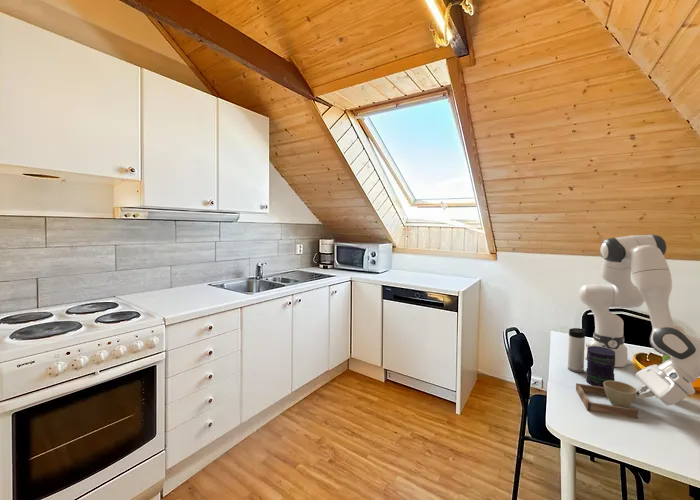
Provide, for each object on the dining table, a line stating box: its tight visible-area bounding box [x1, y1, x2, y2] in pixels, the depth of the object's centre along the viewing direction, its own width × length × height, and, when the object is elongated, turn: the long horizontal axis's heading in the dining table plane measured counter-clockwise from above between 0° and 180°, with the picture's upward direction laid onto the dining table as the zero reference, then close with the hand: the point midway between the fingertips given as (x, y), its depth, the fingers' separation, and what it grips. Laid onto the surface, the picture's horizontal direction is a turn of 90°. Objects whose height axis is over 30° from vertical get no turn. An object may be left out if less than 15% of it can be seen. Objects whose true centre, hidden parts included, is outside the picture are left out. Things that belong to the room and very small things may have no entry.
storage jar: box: [585, 345, 616, 387], centre depth 141 cm, size 10×10×18 cm
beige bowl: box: [603, 380, 638, 408], centre depth 126 cm, size 10×10×7 cm
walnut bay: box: [575, 382, 639, 420], centre depth 127 cm, size 16×15×3 cm
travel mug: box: [567, 327, 587, 373], centre depth 155 cm, size 6×7×20 cm
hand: (638, 396), depth 122 cm, fingers closed, pressing on beige bowl
